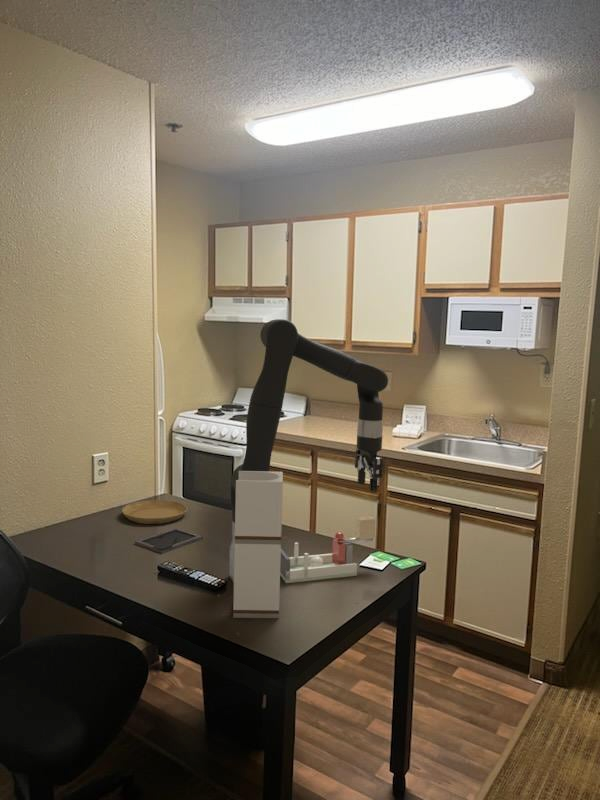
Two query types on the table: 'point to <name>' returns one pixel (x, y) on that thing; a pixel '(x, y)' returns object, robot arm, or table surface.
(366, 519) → the striker
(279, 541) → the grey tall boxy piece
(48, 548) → the table surface
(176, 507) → the plant saucer
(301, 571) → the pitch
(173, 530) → the picture frame
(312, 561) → the ball
